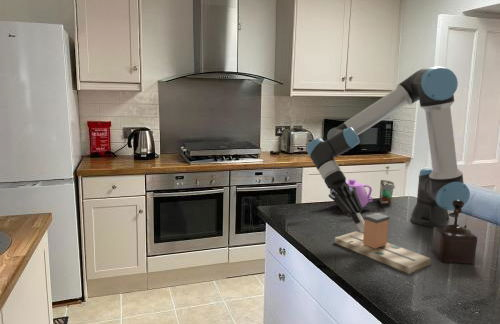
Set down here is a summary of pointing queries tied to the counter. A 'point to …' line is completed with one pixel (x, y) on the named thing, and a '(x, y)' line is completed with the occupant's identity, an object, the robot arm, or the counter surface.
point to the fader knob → (375, 230)
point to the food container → (386, 191)
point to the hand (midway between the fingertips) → (365, 230)
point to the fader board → (385, 253)
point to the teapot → (360, 191)
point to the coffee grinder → (454, 241)
